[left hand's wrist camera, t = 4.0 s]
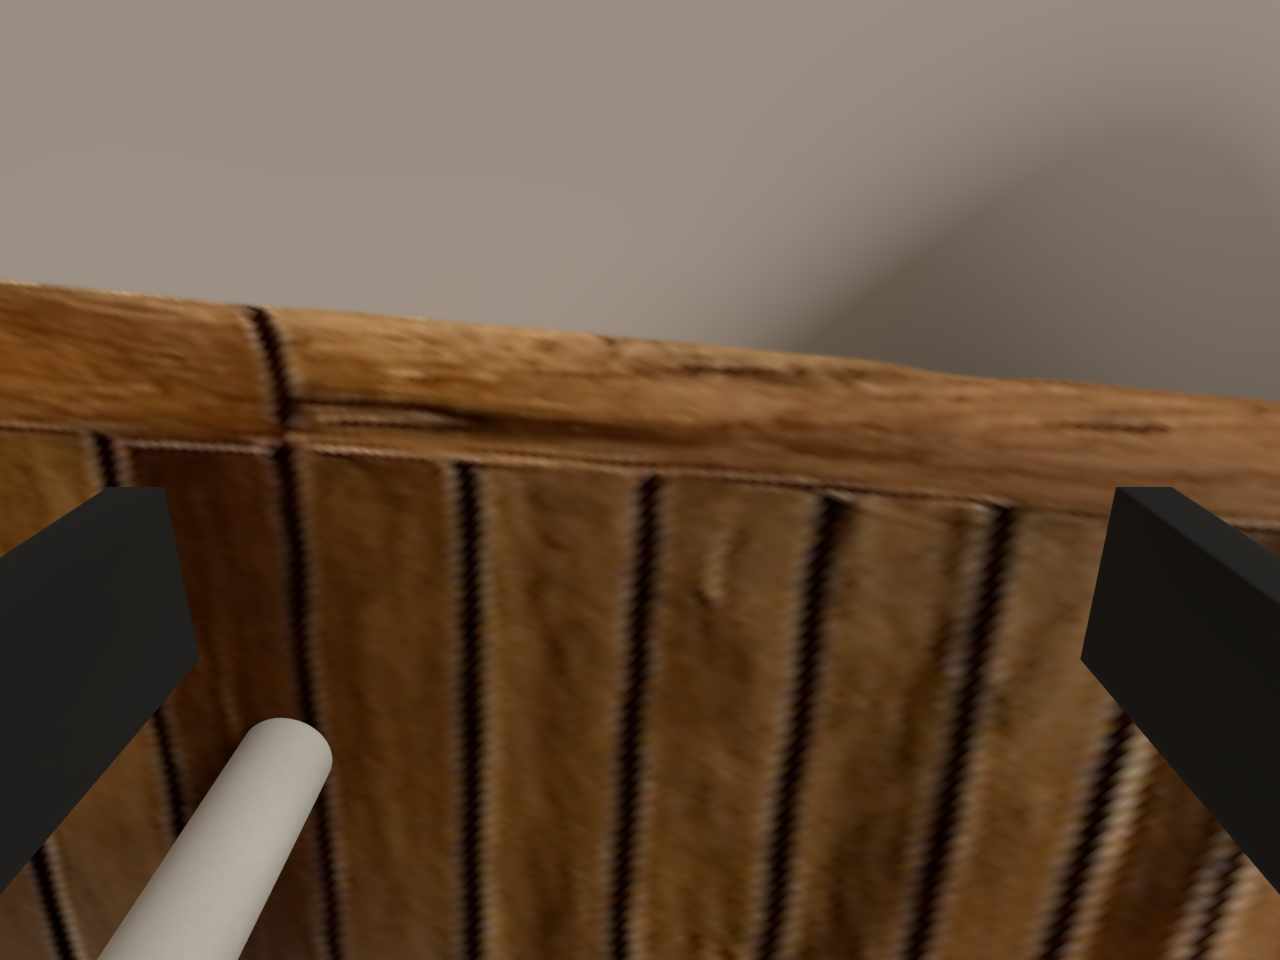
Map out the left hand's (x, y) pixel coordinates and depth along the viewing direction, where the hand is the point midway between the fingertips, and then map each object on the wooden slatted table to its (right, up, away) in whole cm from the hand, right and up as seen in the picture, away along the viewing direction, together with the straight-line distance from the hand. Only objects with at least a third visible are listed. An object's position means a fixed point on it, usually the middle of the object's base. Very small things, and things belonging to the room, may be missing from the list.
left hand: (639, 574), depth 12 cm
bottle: (-19, -13, +35) cm, 42 cm away
